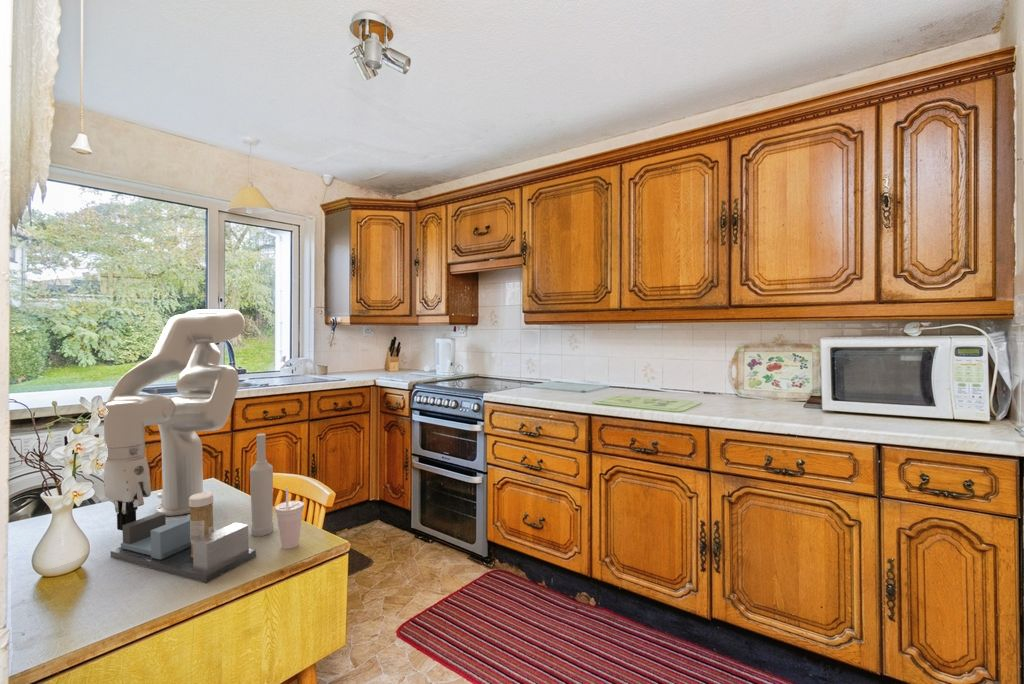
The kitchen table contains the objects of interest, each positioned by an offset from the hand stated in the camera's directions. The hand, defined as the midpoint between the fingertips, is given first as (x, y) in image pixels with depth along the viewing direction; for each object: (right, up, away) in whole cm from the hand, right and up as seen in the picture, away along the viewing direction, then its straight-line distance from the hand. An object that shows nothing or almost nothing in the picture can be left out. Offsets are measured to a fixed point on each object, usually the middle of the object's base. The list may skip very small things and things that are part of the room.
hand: (126, 527), depth 115 cm
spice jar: (+23, -3, -8) cm, 25 cm away
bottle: (+29, -4, +7) cm, 30 cm away
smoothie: (+39, -4, 0) cm, 39 cm away
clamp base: (+18, -4, -6) cm, 19 cm away
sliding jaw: (+11, -2, -4) cm, 12 cm away
